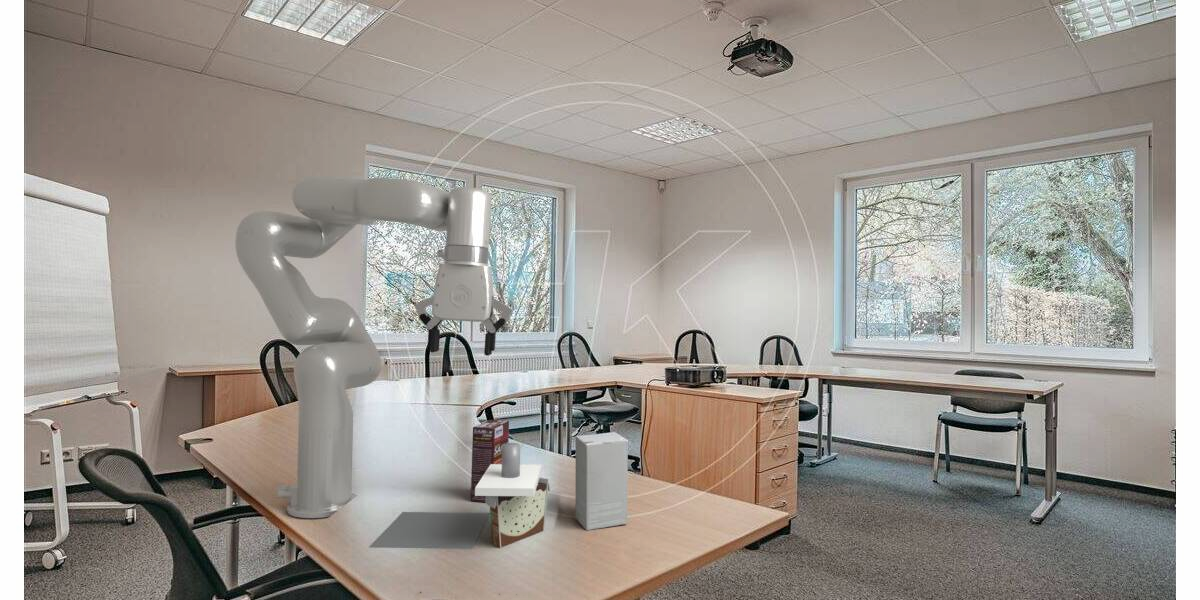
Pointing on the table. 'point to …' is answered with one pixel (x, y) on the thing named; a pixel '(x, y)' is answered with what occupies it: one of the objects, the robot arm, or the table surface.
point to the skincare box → (601, 480)
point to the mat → (433, 530)
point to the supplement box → (486, 450)
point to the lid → (509, 476)
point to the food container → (518, 515)
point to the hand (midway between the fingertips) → (461, 353)
